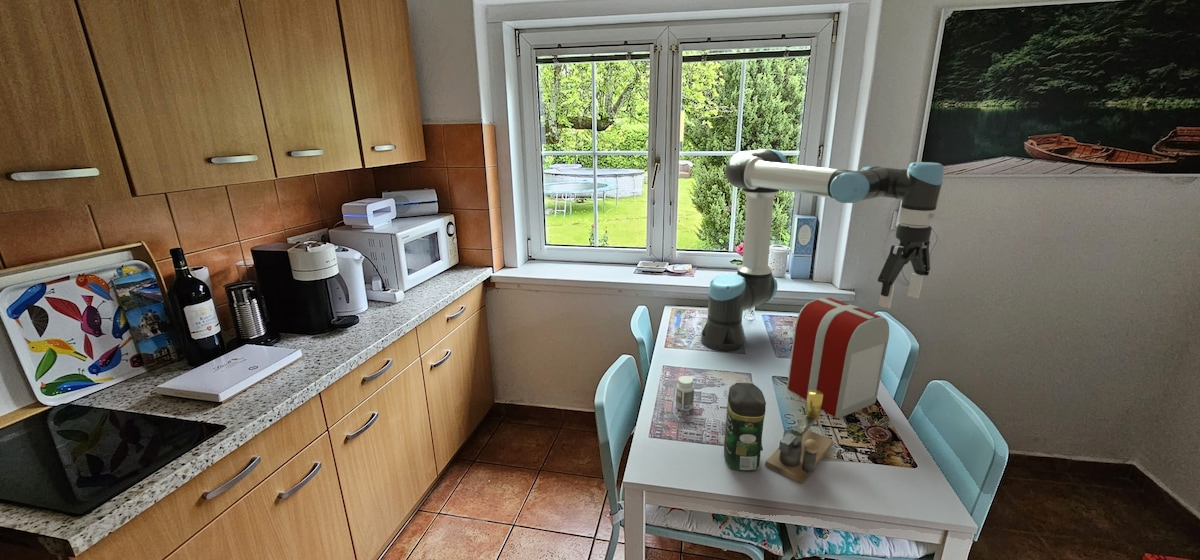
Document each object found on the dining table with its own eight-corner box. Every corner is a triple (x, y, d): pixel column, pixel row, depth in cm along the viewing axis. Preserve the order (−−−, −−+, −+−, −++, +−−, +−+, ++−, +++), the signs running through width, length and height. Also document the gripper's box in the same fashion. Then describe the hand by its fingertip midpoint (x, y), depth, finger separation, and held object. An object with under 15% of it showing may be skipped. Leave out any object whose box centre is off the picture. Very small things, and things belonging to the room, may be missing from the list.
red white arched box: (837, 419, 128) (853, 325, 119) (784, 387, 143) (796, 302, 134) (877, 402, 135) (896, 312, 126) (823, 373, 150) (836, 291, 141)
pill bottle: (694, 402, 136) (695, 376, 133) (691, 412, 132) (693, 385, 129) (677, 399, 138) (678, 373, 135) (674, 409, 133) (675, 382, 131)
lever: (774, 447, 108) (778, 418, 106) (806, 414, 120) (810, 387, 118) (792, 455, 106) (796, 426, 103) (822, 421, 117) (827, 393, 115)
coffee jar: (721, 444, 119) (726, 377, 113) (754, 446, 118) (761, 379, 112) (725, 472, 110) (732, 401, 104) (761, 474, 109) (770, 403, 103)
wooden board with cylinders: (765, 465, 112) (769, 433, 109) (798, 429, 124) (802, 400, 121) (806, 486, 106) (811, 452, 103) (837, 446, 118) (842, 415, 115)
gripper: (902, 234, 116) (885, 316, 123) (956, 221, 128) (938, 297, 135) (871, 227, 122) (857, 306, 129) (926, 216, 134) (910, 289, 141)
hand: (898, 301), depth 132 cm, fingers open, 13 cm apart
